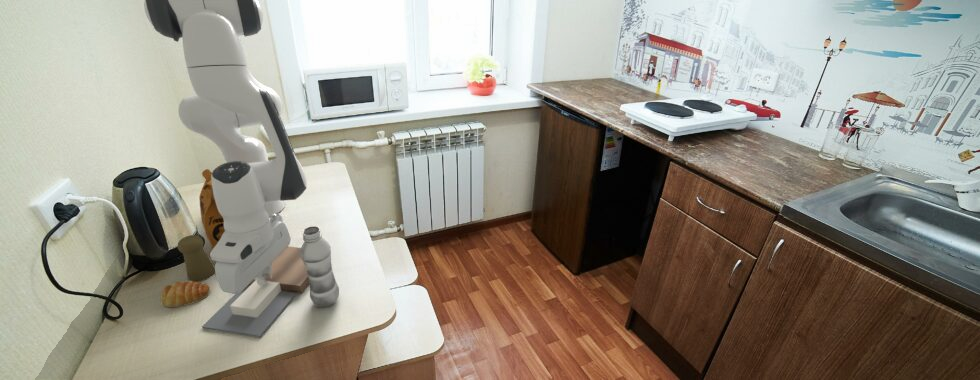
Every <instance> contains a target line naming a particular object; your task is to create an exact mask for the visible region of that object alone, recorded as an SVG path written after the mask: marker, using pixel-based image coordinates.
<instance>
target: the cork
mask: <svg viewBox="0 0 980 380" xmlns="http://www.w3.org/2000/svg"><path fill="white" fill-rule="evenodd" d="M203 247H204V240H203V238H202V237H200V235H197V234H196V235H194V234H193V235H191V234H190V235H187V236H185V237H183V238H180V239H179V240H178V242H177V250H178V251H179V252H180V253H181V254H182V255H183V260H184V264H185V270H186V274H187V280H189V282H193V281H195V282H197V283H198V282H203V281H206V280H208V279H210V278H212V276H214V275H216V273H215V265H214V264H213V263H212V260H211V258H210V257H209V255H208V254H207V252H206V251H205V249H204V248H203Z"/></svg>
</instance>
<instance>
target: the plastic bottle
mask: <svg viewBox="0 0 980 380" xmlns="http://www.w3.org/2000/svg"><path fill="white" fill-rule="evenodd" d="M301 233H302V240H303V241H304V242H303V244H301V247H300V248H301V251H300V255H301V258H302V260H303V263H304V265H305V267H306V270H307V273H308V277H309V284H310V285H309V298H310V300H311V302H312V304H313V305H315V306H317V307H319V308H326V307H327V308H328V307H330V306H331V305H334V303H336V302H337V300H338V299H339V295H340V288H339V285H338V282H337V281H336V278H335V274H334V272H333V267H332V249H331V248H332V247H331V246H330V244H329V242H328V241H327V240H326V239H325V238H323V235H322V232H321V229H320V227H319V226H316V225H315V226H314V225H313V226H308V227H306V228H304V229H303V230H302V232H301Z"/></svg>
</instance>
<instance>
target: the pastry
mask: <svg viewBox="0 0 980 380" xmlns="http://www.w3.org/2000/svg"><path fill="white" fill-rule="evenodd" d="M210 292H211V286H210V285H209V284H208V283H203V282H202V281H199V282H195V281H193V282H192V281H187V280H185V281H183V282H181V281H176V282H175V283H174V284H166V285H165V286H164V287H163V289H162V291H161V295H160V304H161V306H163V307H167V308H174V307H175V308H176V307H183V306H185V305H190V304H193V303H197V302H199V301H202V300H204V299H205V298H207V297H208V296H209V294H210Z"/></svg>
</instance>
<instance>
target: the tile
mask: <svg viewBox="0 0 980 380" xmlns="http://www.w3.org/2000/svg"><path fill="white" fill-rule="evenodd" d="M280 292H281V288H280V284H279V283H277V282H270V281H268V282H267V283H266V284H265V285H264V286H260V285H258V284H257V281H255V282H254V283H252V284H251V285H250V286H249V287H248V288H247V289H246V290H245V291H244V292H243V293H242V294H241V295H240V296H239V297H238V298H237V299H236V300H235V301H234V302H233V303H232V304H231V305H230V307H231V310H232V313H233V314H236V315H242V316H249V317H255V318H257V317H258V316H259V315H260V314H261V313H262V312H263V311H264V310H265V308H266V307H267V306H268V305H269V304H270V303H271V302H272V301H273V299H274V298H275V297H276V296H277V295H278V294H279V293H280Z"/></svg>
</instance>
